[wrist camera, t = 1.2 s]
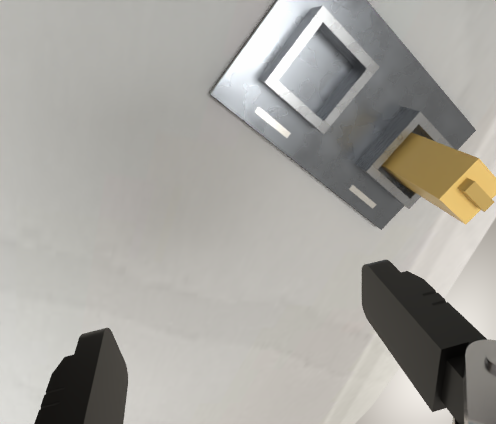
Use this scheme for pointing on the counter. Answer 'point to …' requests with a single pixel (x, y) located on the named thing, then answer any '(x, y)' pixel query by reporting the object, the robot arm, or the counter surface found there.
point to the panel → (339, 98)
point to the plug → (443, 176)
